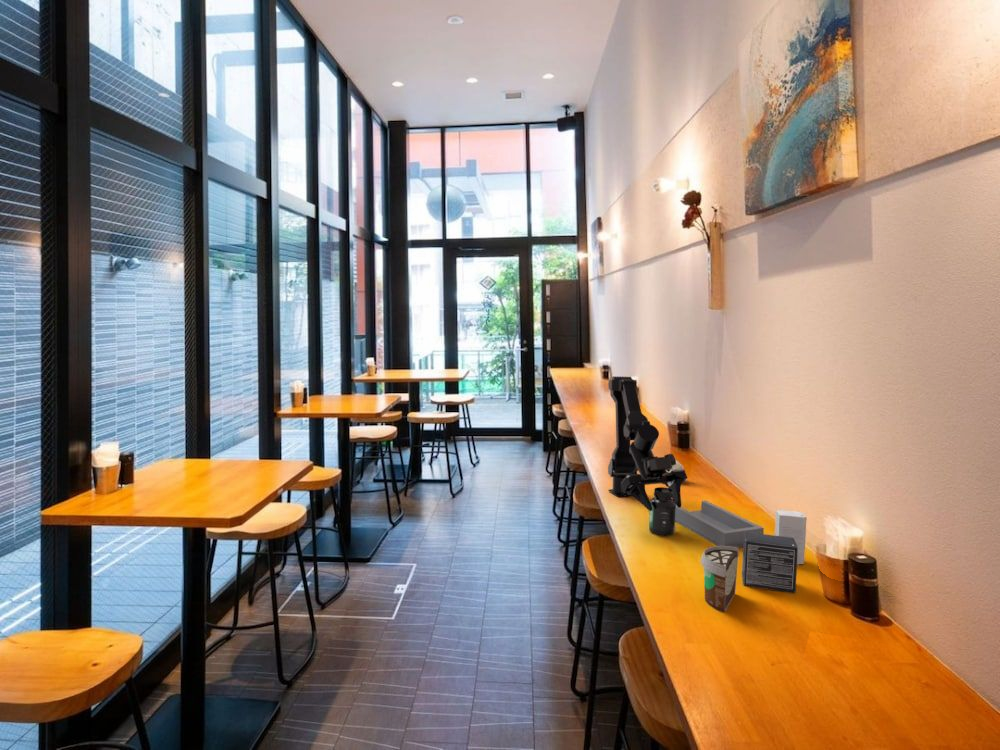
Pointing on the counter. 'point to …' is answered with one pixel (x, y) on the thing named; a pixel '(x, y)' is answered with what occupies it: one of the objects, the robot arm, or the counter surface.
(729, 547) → the food container
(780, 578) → the small box
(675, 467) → the skull
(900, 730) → the counter surface
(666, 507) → the supplement bottle
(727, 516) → the gray rectangular tray
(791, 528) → the skincare box
